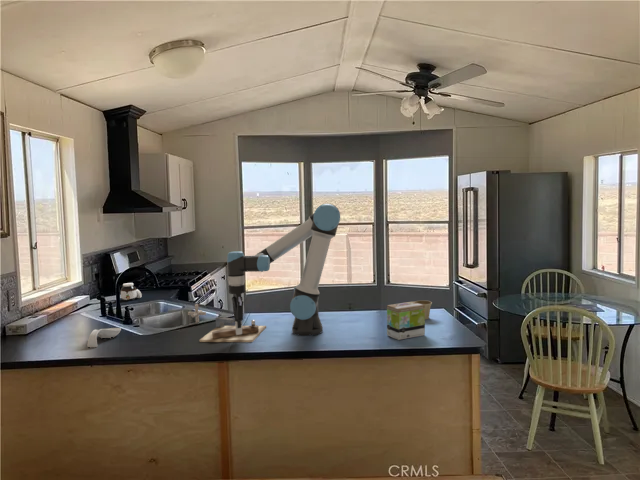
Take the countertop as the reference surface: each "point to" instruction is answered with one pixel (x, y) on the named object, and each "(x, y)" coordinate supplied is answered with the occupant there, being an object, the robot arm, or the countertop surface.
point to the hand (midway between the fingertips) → (239, 334)
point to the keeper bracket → (221, 321)
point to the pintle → (253, 322)
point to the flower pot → (427, 307)
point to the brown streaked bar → (234, 331)
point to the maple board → (237, 338)
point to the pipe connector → (196, 313)
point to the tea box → (405, 320)
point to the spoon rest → (102, 335)
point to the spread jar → (130, 292)
